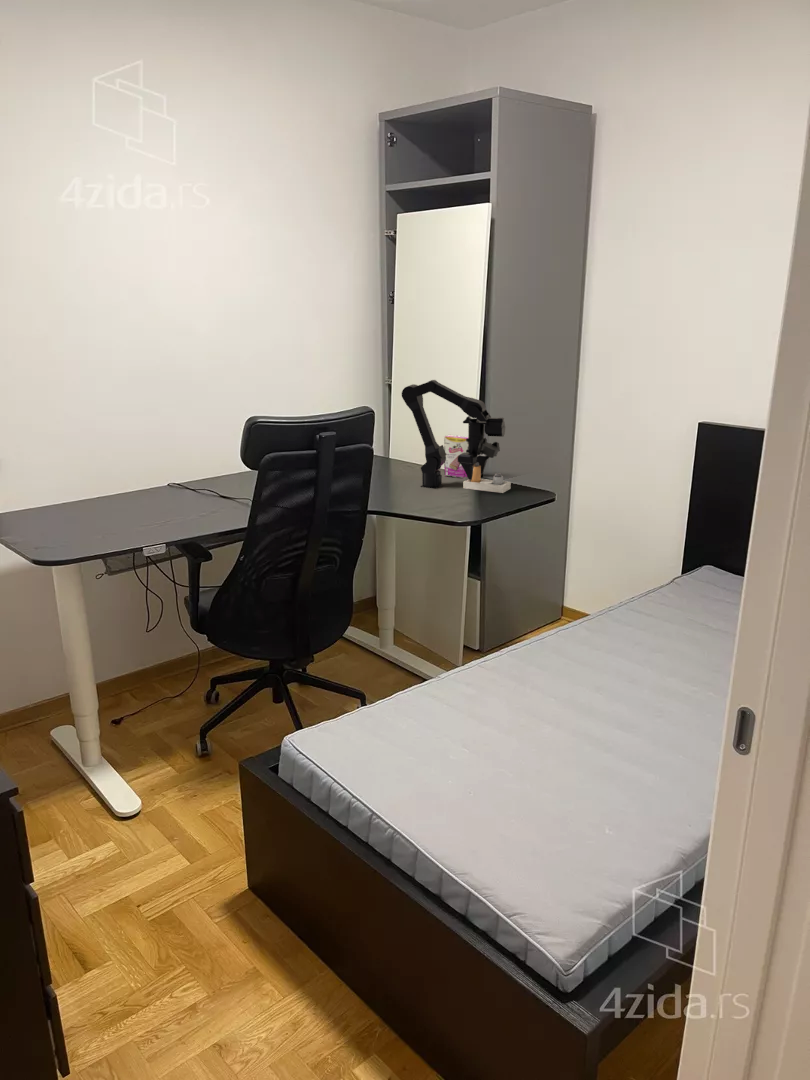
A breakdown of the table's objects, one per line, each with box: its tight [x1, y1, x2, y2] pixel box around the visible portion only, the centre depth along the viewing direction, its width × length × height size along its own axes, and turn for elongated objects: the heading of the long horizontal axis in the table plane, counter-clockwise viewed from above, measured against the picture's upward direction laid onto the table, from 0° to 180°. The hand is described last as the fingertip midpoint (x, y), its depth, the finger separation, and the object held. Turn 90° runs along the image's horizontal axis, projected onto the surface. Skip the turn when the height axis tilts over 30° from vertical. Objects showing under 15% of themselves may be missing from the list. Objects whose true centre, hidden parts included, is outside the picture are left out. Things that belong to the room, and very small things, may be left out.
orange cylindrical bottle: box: [471, 462, 482, 483], centre depth 292 cm, size 4×4×9 cm
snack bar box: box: [443, 434, 468, 479], centre depth 311 cm, size 11×5×16 cm, turn 58°
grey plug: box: [492, 472, 504, 485], centre depth 288 cm, size 4×4×6 cm
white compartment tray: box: [462, 478, 512, 494], centre depth 291 cm, size 16×7×4 cm, turn 59°
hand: (475, 477), depth 292 cm, fingers open, 9 cm apart
